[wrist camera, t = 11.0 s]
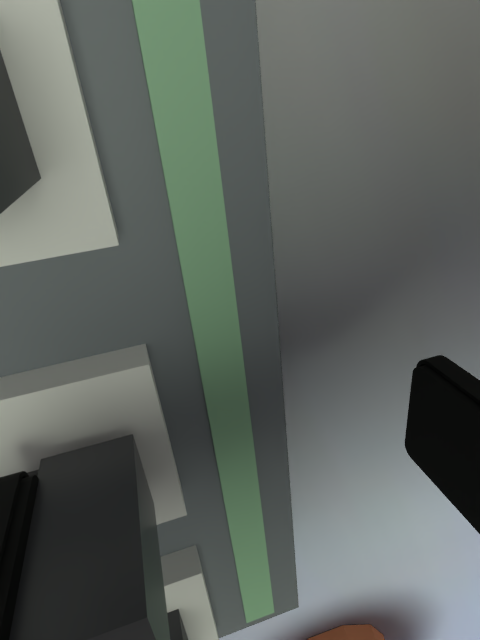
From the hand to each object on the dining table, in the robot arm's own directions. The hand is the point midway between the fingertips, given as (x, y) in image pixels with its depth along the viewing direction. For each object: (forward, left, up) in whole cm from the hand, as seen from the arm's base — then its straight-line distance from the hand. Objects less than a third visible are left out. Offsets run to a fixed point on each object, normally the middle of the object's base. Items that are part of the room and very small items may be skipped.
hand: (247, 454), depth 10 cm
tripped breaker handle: (0, -3, -1) cm, 4 cm away
